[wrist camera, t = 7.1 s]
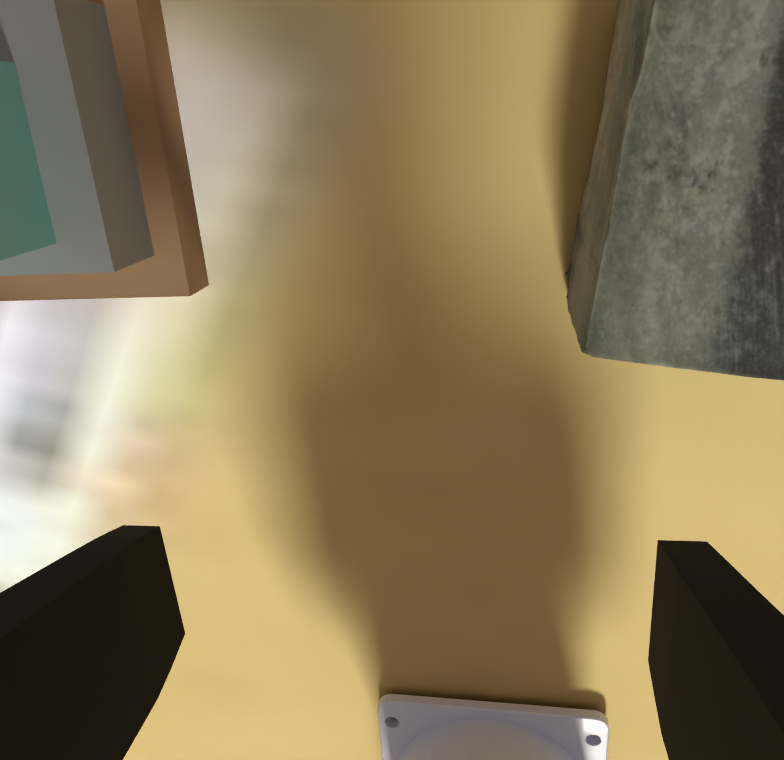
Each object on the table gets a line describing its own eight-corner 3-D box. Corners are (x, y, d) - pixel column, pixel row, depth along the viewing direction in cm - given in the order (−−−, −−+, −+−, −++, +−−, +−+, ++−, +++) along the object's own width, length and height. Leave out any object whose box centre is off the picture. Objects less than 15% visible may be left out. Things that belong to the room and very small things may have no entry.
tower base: (219, 279, 20) (189, 296, 18) (-14, 286, 22) (-62, 302, 20) (169, -25, 17) (129, -40, 16) (-96, 6, 19) (-161, -5, 17)
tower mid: (154, 255, 18) (114, 271, 16) (-39, 263, 19) (-96, 279, 17) (104, 5, 16) (51, -9, 14) (-110, 29, 17) (-185, 19, 15)
